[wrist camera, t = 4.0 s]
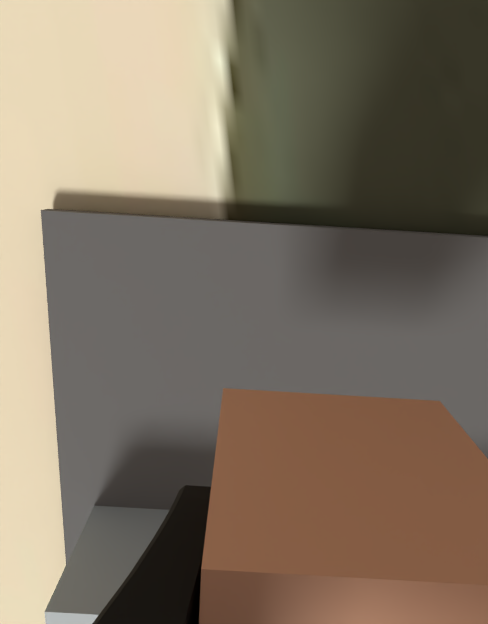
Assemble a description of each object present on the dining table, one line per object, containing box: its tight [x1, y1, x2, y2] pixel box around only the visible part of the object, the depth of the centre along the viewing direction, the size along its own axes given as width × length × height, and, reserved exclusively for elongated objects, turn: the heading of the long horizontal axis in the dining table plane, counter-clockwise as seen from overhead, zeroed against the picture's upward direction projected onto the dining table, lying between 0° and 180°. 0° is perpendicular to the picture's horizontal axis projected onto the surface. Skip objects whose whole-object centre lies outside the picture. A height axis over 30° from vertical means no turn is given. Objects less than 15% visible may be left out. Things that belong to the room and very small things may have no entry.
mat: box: [41, 209, 488, 565], centre depth 18 cm, size 18×17×1 cm
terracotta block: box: [199, 388, 488, 624], centre depth 8 cm, size 4×4×4 cm
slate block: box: [45, 506, 169, 624], centre depth 16 cm, size 4×4×4 cm
